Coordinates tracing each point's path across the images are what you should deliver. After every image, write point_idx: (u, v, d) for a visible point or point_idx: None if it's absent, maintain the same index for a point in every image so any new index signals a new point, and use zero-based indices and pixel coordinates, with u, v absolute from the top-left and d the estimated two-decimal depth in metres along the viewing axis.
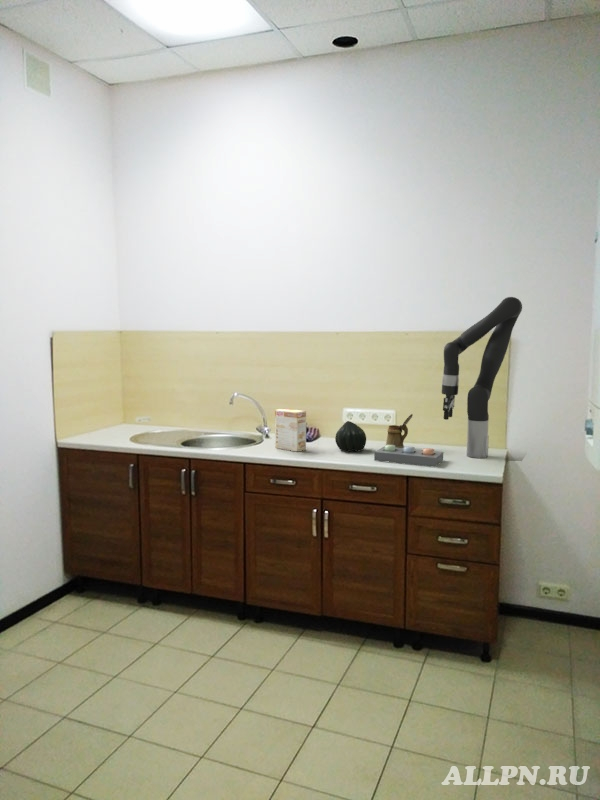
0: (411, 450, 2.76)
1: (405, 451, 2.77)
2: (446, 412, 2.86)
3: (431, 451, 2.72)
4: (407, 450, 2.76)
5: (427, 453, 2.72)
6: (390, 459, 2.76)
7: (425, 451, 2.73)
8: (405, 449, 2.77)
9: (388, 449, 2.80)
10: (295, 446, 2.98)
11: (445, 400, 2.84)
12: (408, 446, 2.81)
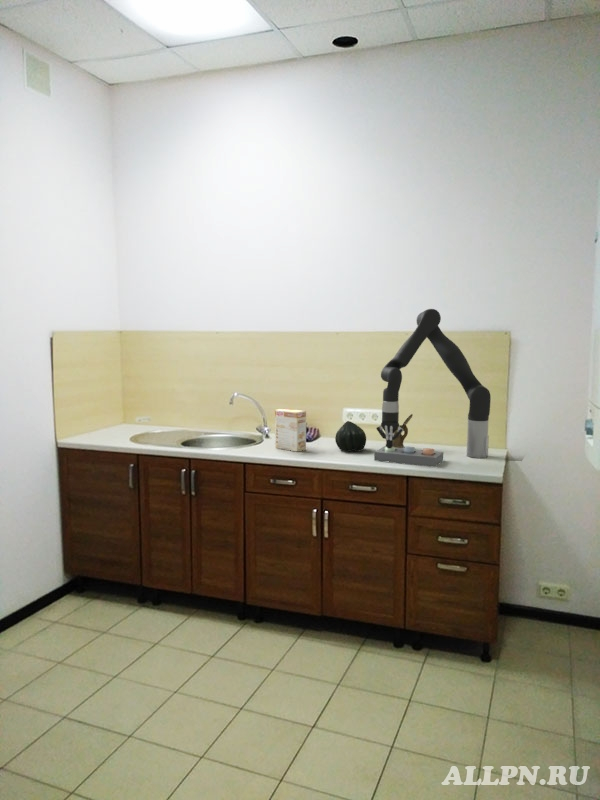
0: (411, 450, 2.76)
1: (405, 451, 2.77)
2: (392, 440, 2.82)
3: (431, 451, 2.72)
4: (407, 450, 2.76)
5: (427, 453, 2.72)
6: (390, 459, 2.76)
7: (425, 451, 2.73)
8: (405, 449, 2.77)
9: None
10: (295, 446, 2.98)
11: (401, 432, 2.79)
12: (408, 446, 2.81)
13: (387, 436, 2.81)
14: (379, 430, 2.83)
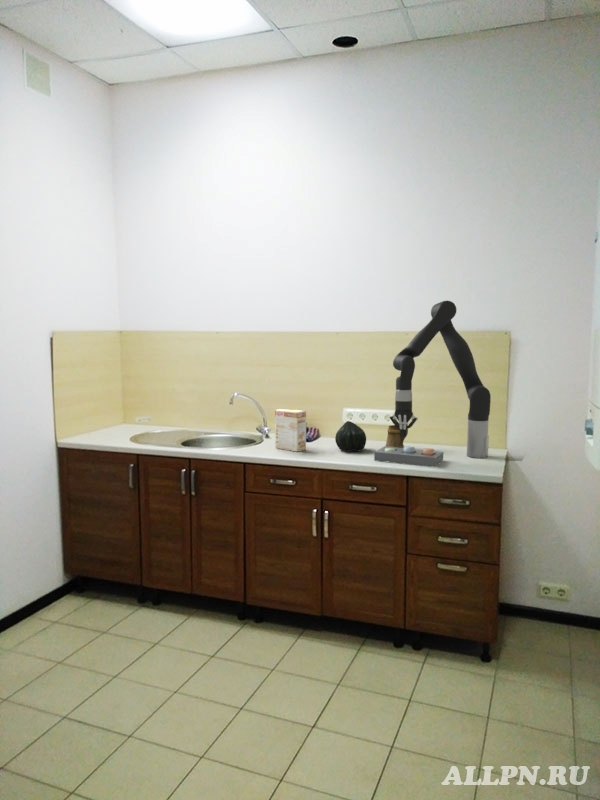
0: (411, 450, 2.76)
1: (405, 451, 2.77)
2: (406, 429, 2.78)
3: (431, 451, 2.72)
4: (407, 450, 2.76)
5: (427, 453, 2.72)
6: (390, 459, 2.76)
7: (425, 451, 2.73)
8: (405, 449, 2.77)
9: None
10: (295, 446, 2.98)
11: (415, 420, 2.75)
12: (408, 446, 2.81)
13: (401, 425, 2.78)
14: (393, 419, 2.79)
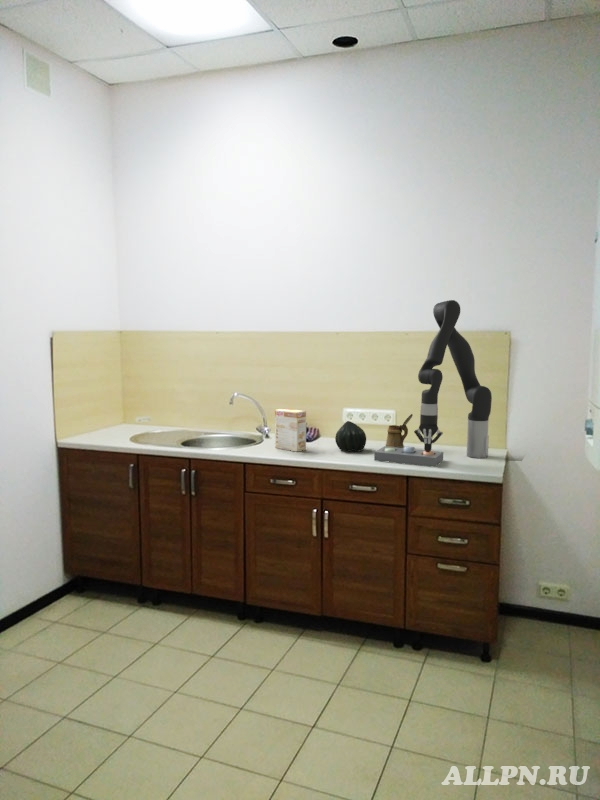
0: (411, 450, 2.76)
1: (405, 451, 2.77)
2: (431, 444, 2.74)
3: (431, 453, 2.72)
4: (407, 450, 2.76)
5: None
6: (390, 459, 2.76)
7: (425, 453, 2.73)
8: (405, 449, 2.77)
9: None
10: (295, 446, 2.98)
11: (440, 435, 2.71)
12: (408, 446, 2.81)
13: (425, 439, 2.73)
14: (417, 433, 2.75)
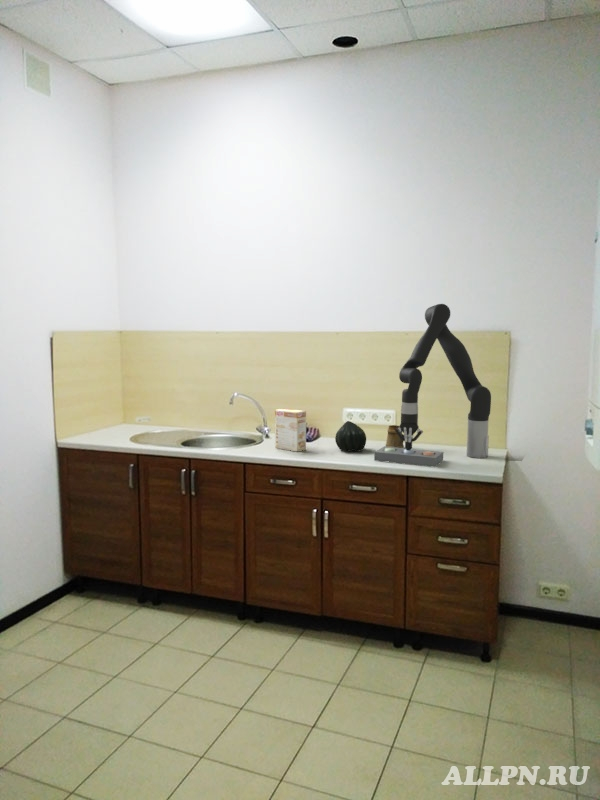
0: None
1: None
2: (411, 442, 2.78)
3: (431, 454, 2.72)
4: (407, 452, 2.76)
5: None
6: (390, 459, 2.76)
7: (425, 454, 2.73)
8: (405, 452, 2.77)
9: None
10: (295, 446, 2.98)
11: (420, 433, 2.75)
12: None
13: (406, 438, 2.77)
14: (398, 432, 2.79)
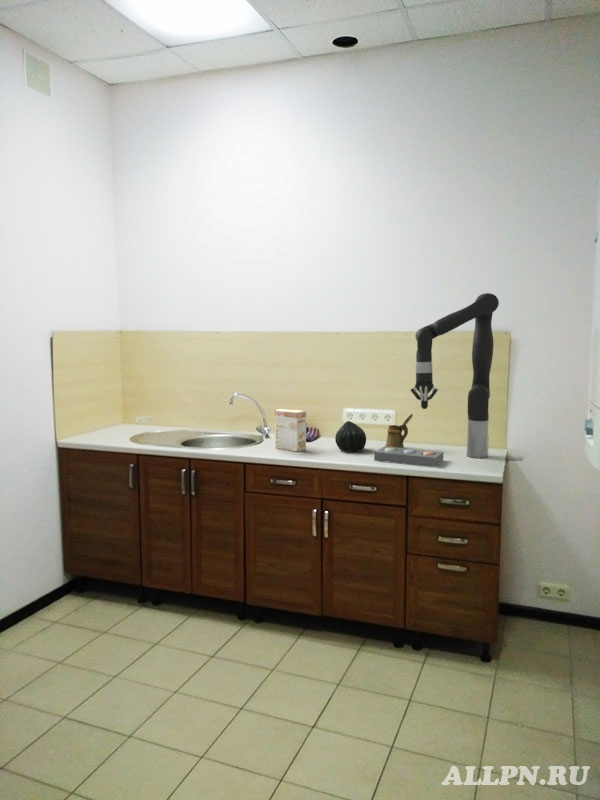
0: None
1: None
2: (427, 401, 2.85)
3: (431, 454, 2.72)
4: None
5: None
6: (390, 459, 2.76)
7: (425, 454, 2.73)
8: (405, 452, 2.77)
9: None
10: (295, 446, 2.98)
11: (436, 392, 2.82)
12: None
13: (422, 397, 2.85)
14: (413, 391, 2.86)
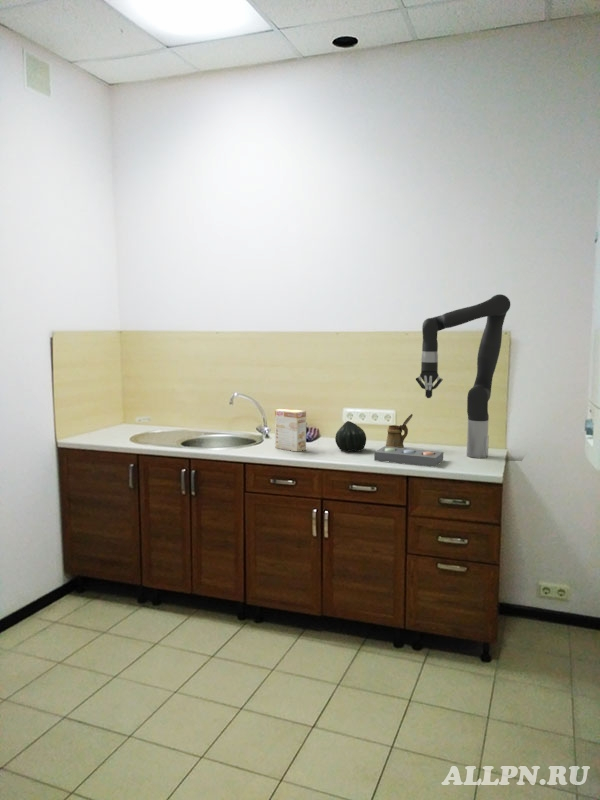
0: None
1: None
2: None
3: (431, 454, 2.72)
4: None
5: None
6: (390, 459, 2.76)
7: (425, 454, 2.73)
8: (405, 452, 2.77)
9: None
10: (295, 446, 2.98)
11: (440, 381, 2.85)
12: None
13: (426, 386, 2.88)
14: (418, 380, 2.89)
